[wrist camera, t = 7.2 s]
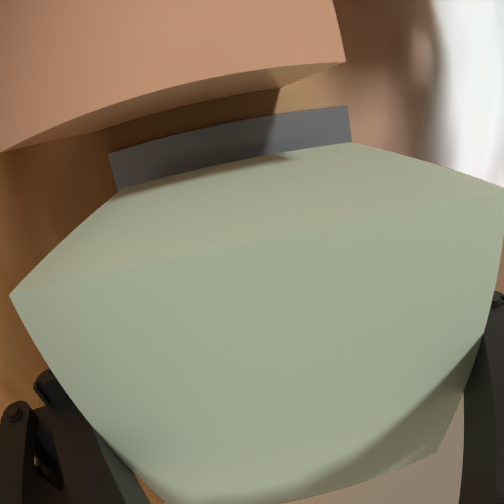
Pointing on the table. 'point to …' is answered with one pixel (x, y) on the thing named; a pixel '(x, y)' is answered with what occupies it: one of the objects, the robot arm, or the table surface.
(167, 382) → the sage cover
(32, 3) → the terracotta cover
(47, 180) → the table surface
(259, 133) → the slate tile
